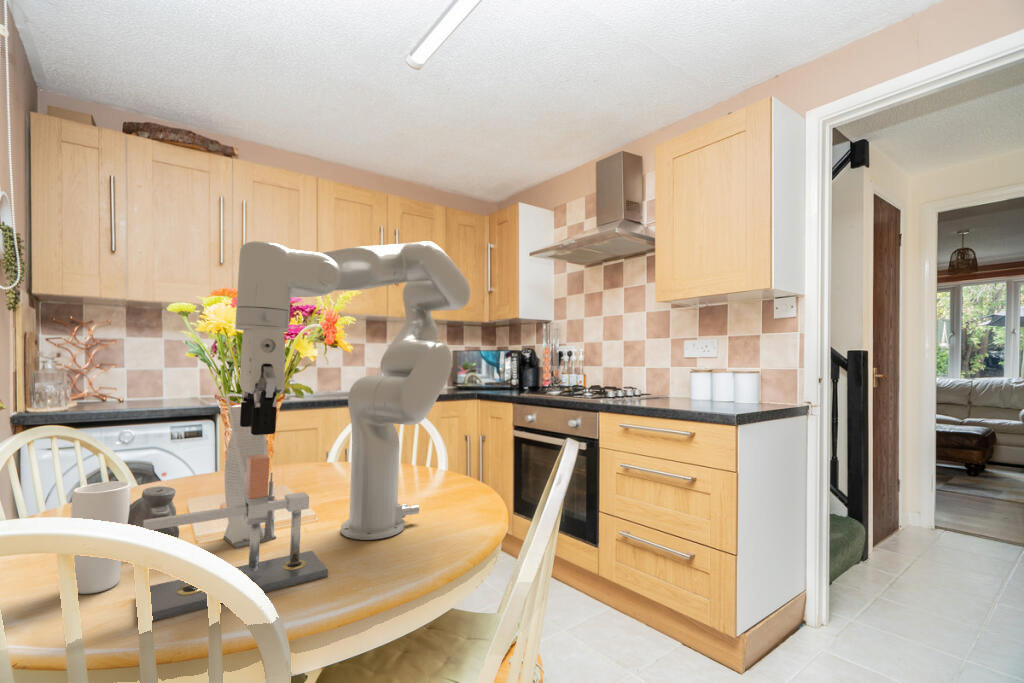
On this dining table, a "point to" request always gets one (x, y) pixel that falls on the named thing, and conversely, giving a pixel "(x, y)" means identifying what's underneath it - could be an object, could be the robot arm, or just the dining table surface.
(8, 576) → the dining table surface
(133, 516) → the pipe fitting
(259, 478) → the sliding leg
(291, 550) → the divider frame
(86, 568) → the grey cup
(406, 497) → the dining table surface
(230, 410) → the skyscraper
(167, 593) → the bolt plate
